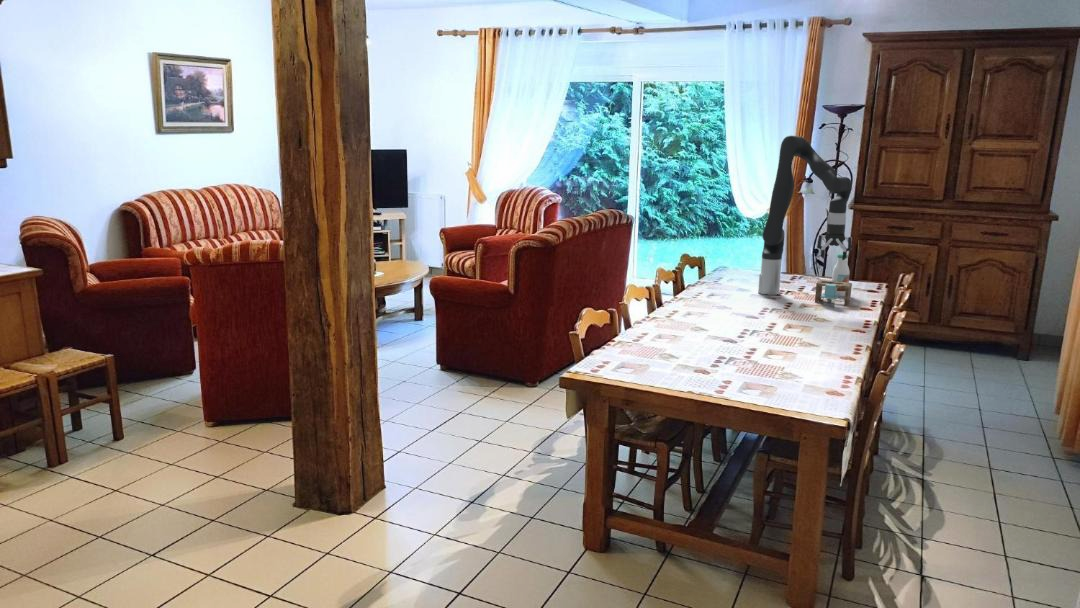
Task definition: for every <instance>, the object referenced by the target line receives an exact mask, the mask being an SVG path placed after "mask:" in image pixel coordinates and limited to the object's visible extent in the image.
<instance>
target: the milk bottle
mask: <svg viewBox="0 0 1080 608" xmlns="http://www.w3.org/2000/svg"><path fill="white" fill-rule="evenodd" d="M842 257H843V253H838V254H837V258H836V259H837V261H836V263H835V265H834V266H833V270H832V274H831V275H832V276H831V281H836V282H846V283H850V268H849V265H848V258H849V255H848V254H847V256H846V259H845V260H842ZM845 291H846V288H838V287H836V293H835V295H839V297H838V298H841V297H843V298H845Z"/></svg>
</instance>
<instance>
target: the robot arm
mask: <svg viewBox="0 0 1080 608" xmlns="http://www.w3.org/2000/svg"><path fill="white" fill-rule="evenodd" d="M794 157H799V158H800V159H802V160H803V161H805V162H806V163H807V164H808V166H809V168H810V170H811V172H812V173H813V174H814V175H815V176H816V177H817V179H819V180H820V181H822V184H823V185H824V187H825V188H826V190H827V191H828V192H830V193H832V194H835V197H834V198H832V199H831V200H829V206H828V207H829V208H828V216H827V224H826V234H825V235H823V234H819V235H818V239H817V245H816V248H817V249H819V250H820V257H821V259H823V260H824V259H825V257H826V248H827V247H828V246H835V247H840V248H841V249H842V251H843V252H842V254H843V257H842V260H845V259H846V256H847V255H848V252H850V251H852V249H853V246H852V245H853V237H852V236H846V235H845V234H846V223H847V221H846V220H847V207H848V206H847V205H848V201H849V198H850V195H851V194H852V190H853V183H852V180H851V179H850V178H849V177H847V176H839V177H838V176H836V175H837V172H836V169H835V168H834V167H832V166H831V165H830V164H829V163H827V162H826V161H825V160H824V159H823V158H822V157H821V156H820V155H819V154H818V152H817V151H816V150H815V149H814V148H813V147H812V145H811V144H810V143H809V142H808V140H807V139H806V138H805V137H803V136H800V135H798V136H797V135H792V134H791V135H787V136H785V137H784V138H783V139H782V141H781V144H780V149H779V156H778V165H777V170H776V176H775V181H774V184H773V189H772V192H771V198H770V203H769V212H768V217H767V219H766V223H765V226H764V228H763V231H762V240H763V248H762V253H761V266H760V273H759V280H758V294H761V295H765V294H768V296H769V295H770V296H776V295H777V294H778V295H779V294H780V287H781V274H782V273H781V271H782V261H783V253H784V246H785V230H784V228H783V227H784V221H785V218H786V214H787V213H788V210H789V207H790V205H791V202H792V199H793V195H794V190H795V178H794V176H793V175H794V174H793V168H792V167H793V162H794ZM824 239H825V240H826V242H825V243H824V245H823V246H822V243H823V240H824ZM844 241H846V242H847V247H846V245H845V244H844ZM778 295H777V296H778Z"/></svg>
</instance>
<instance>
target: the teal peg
mask: <svg viewBox="0 0 1080 608" xmlns="http://www.w3.org/2000/svg"><path fill="white" fill-rule="evenodd" d="M835 293H836V284H826V285H825V286H824V293H823V294H822V295H821V299H827V301H825V302H823V307H825V306H826V308H834V307H835V301H834V302H832V300H838V298H840V297H839V295H835Z"/></svg>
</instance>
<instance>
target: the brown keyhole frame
mask: <svg viewBox="0 0 1080 608" xmlns="http://www.w3.org/2000/svg"><path fill="white" fill-rule="evenodd" d="M826 284H836V287H838V288H846V291H845V297H844V302H843V303H844V305H845V306H846V307H847V306H849V304H850V303H851V299H852V298H851V295H852V288H853V287H852V286H853V283H852V282H849V283H846V282H836V281H832V280H824V279H820V280H818V281H817V282H816V285H815V295H814V297H815V298H814V303H819V302H820V301H821V300H822V298H821V295H823V294H822V292H823V287H825V285H826ZM844 305H843V306H844Z"/></svg>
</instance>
